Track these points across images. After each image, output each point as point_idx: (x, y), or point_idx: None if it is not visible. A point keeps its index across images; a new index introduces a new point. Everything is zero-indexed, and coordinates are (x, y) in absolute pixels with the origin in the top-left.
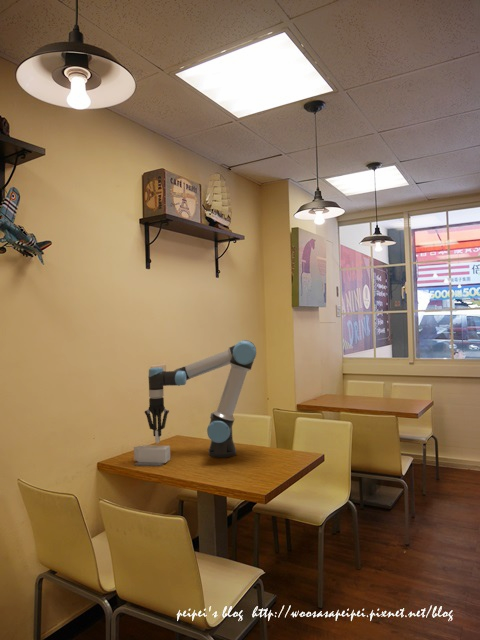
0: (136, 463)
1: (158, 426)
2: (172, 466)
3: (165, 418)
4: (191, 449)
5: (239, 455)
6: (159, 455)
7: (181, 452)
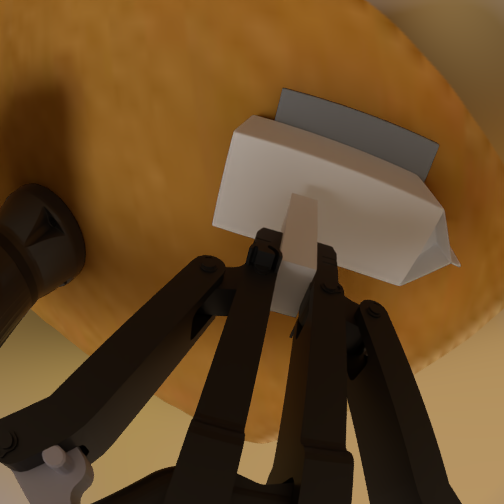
0: (428, 156)
1: (259, 296)
2: (211, 72)
3: (94, 362)
4: None
5: None
6: (288, 134)
7: None
